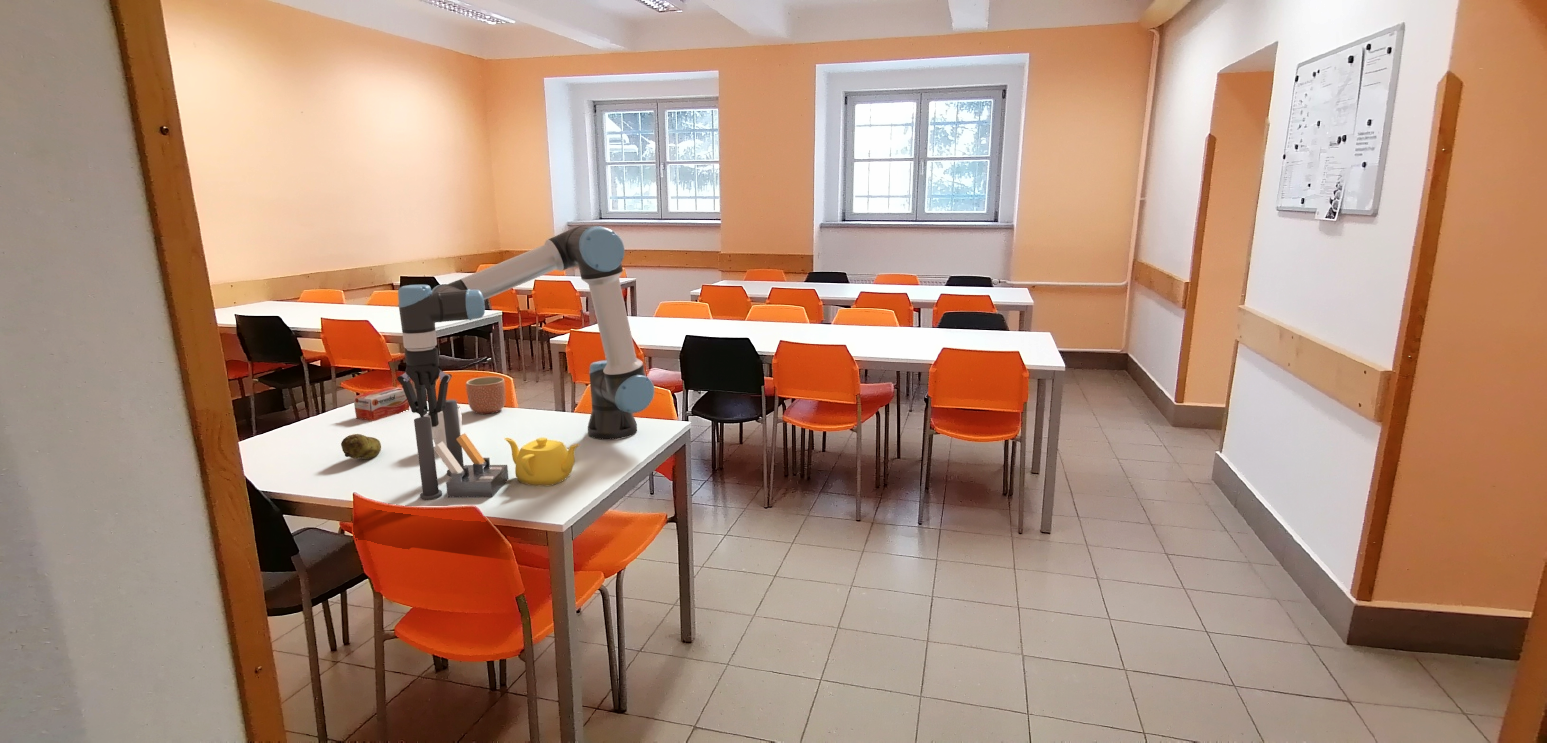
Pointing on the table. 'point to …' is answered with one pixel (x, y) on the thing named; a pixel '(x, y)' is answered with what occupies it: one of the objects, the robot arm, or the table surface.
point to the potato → (360, 446)
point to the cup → (441, 427)
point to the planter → (486, 394)
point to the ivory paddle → (448, 459)
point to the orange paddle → (471, 450)
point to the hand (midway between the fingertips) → (431, 438)
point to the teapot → (542, 461)
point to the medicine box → (380, 403)
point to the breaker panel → (477, 480)
